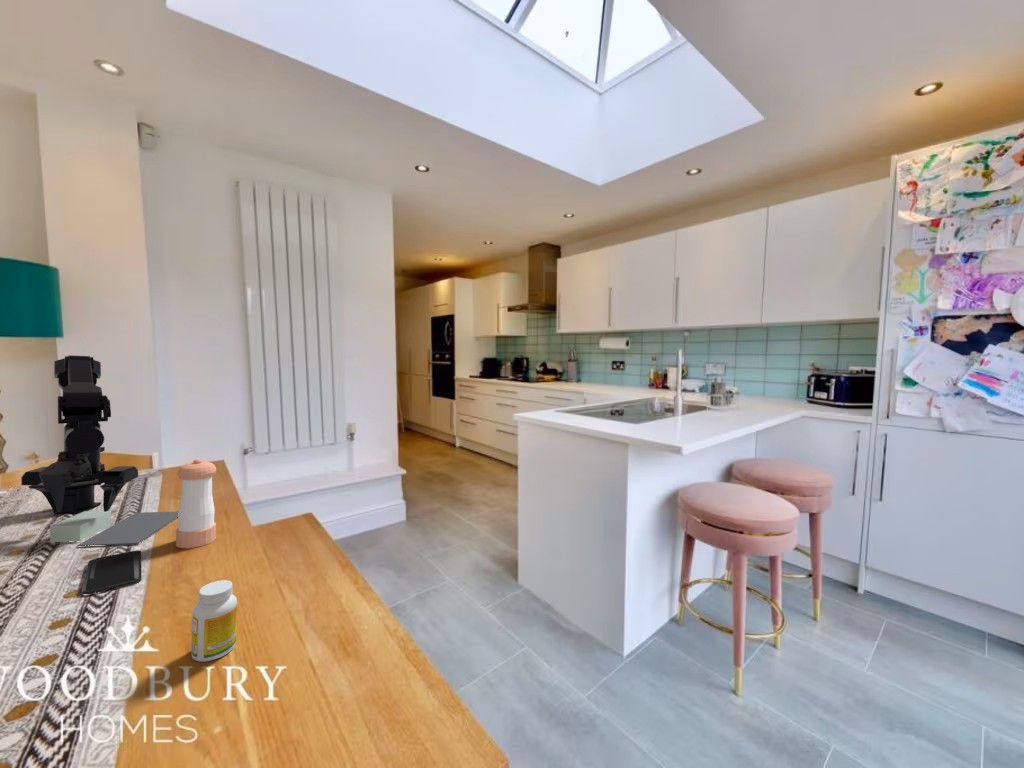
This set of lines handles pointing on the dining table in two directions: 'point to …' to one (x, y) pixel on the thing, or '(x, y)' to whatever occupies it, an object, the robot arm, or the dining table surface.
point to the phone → (112, 572)
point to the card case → (80, 526)
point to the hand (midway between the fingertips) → (82, 511)
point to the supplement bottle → (214, 621)
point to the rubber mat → (132, 529)
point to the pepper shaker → (196, 505)
